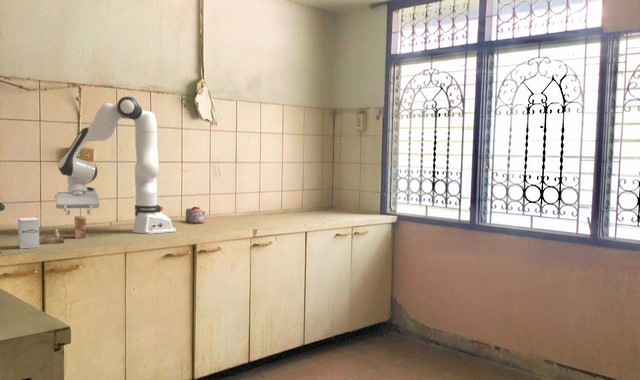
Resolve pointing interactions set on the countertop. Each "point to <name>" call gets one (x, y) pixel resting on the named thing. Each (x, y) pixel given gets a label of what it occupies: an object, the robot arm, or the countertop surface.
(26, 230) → the supplement box
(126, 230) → the countertop surface
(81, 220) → the brown rectangular block
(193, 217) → the food item
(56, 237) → the peg stand
